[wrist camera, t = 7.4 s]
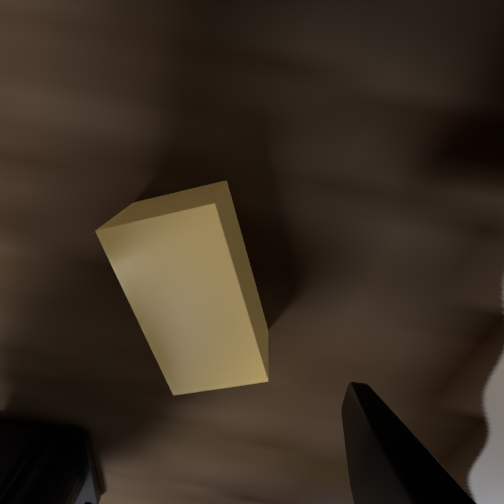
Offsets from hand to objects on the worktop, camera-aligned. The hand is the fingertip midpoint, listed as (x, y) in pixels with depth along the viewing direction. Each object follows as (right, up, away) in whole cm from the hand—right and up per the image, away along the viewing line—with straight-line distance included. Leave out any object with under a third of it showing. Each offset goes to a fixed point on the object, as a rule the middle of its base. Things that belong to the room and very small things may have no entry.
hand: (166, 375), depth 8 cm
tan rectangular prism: (0, +2, +5) cm, 5 cm away
